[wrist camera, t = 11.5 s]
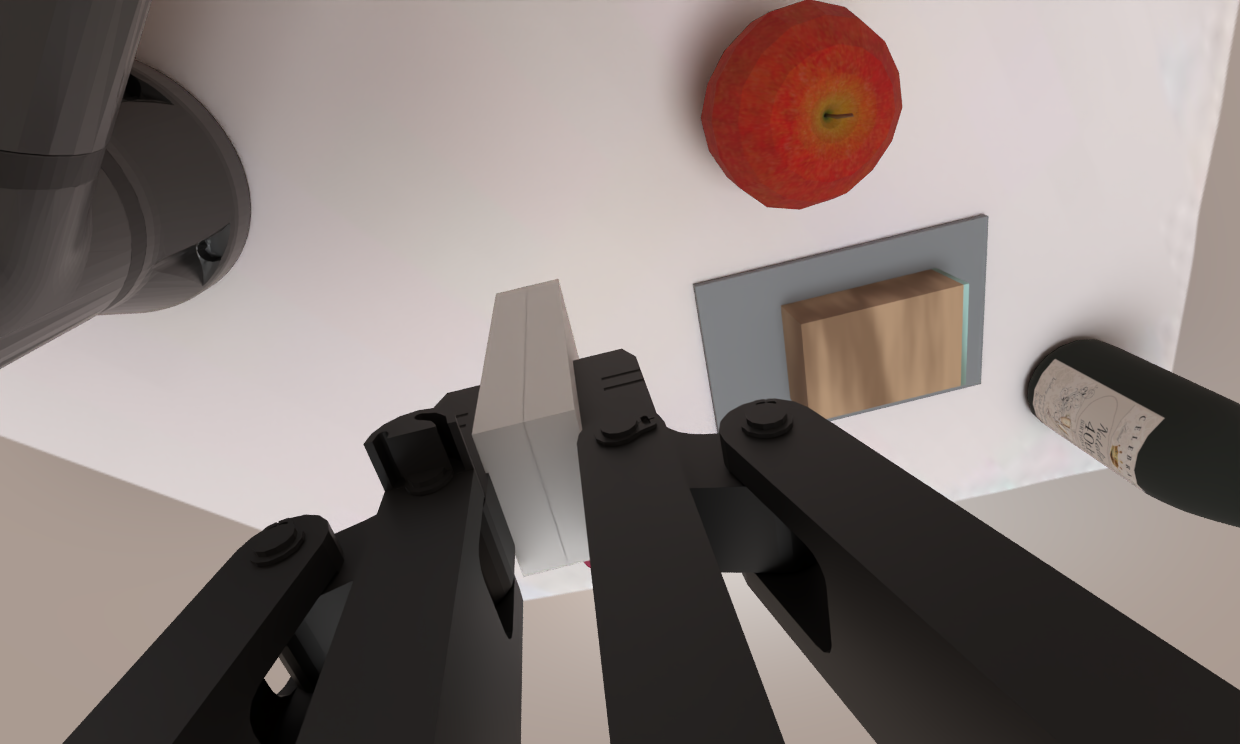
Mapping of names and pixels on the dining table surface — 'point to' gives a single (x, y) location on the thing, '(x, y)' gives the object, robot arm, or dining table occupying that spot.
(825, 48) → the apple
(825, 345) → the block
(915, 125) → the dining table surface
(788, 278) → the mat
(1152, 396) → the wine bottle
